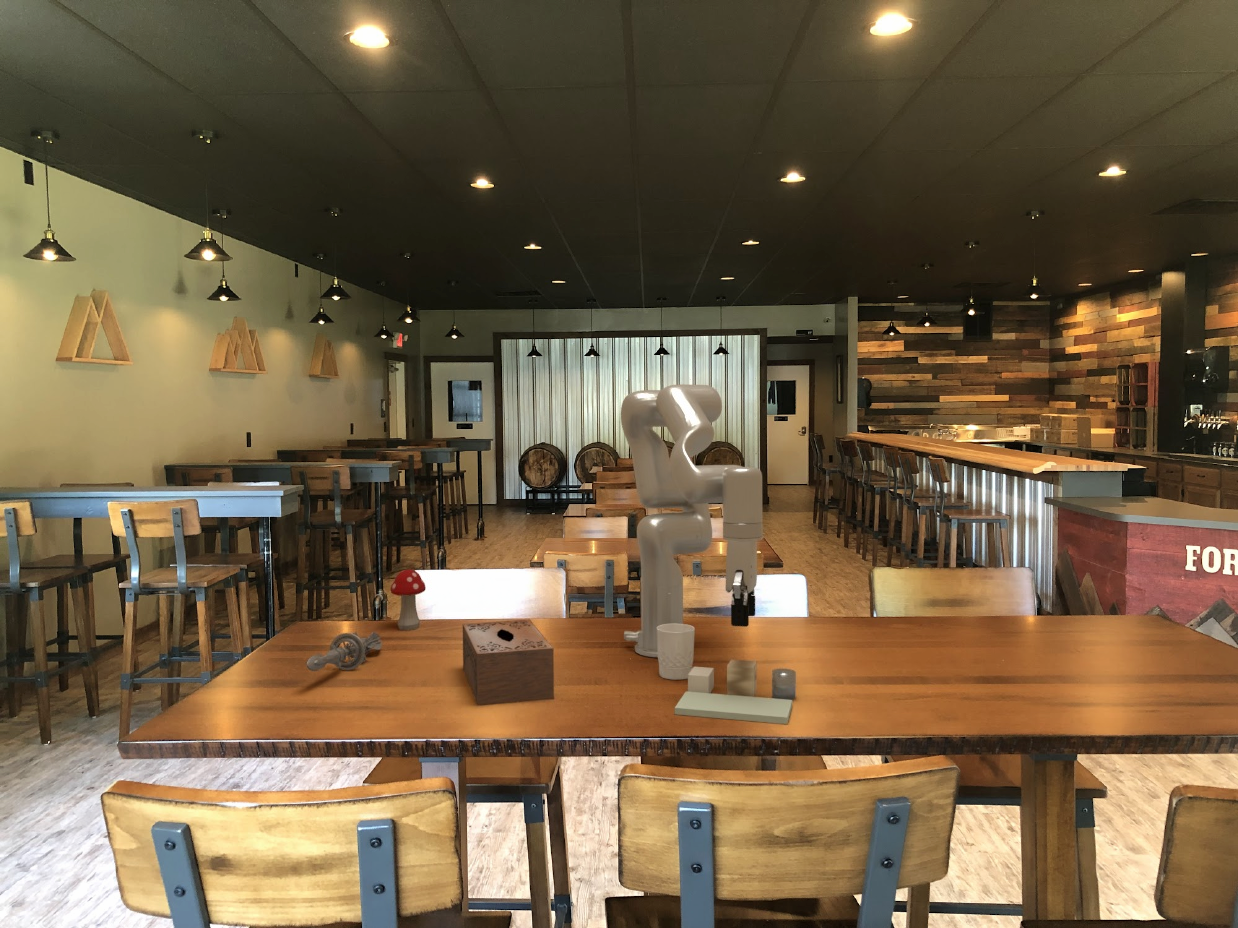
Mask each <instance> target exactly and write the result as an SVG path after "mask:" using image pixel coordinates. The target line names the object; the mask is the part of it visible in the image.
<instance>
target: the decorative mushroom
mask: <svg viewBox="0 0 1238 928" xmlns="http://www.w3.org/2000/svg"><path fill="white" fill-rule="evenodd" d="M425 591H426V584H425V581H424V580H423V579H422V576H421V575H420V574H419V572H417V571H416V570H414V569H410V568H409V569H404V570H402V571H400V572H399V573H398V574H397V575H396V577H395V579H394V581H393V583H392V584H391V585H390V593H391V595H395V596H397V597H398V596H399V597H400V614H399V618H398V621H397V627H398V629H399V631H412V630H417V629H419V626H420V623H421V621H420V619H419V615H418V610H417V603H416V601H417V599H416V596H417V595H420V594H422V593H424V592H425Z"/></svg>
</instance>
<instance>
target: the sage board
mask: <svg viewBox="0 0 1238 928" xmlns="http://www.w3.org/2000/svg"><path fill="white" fill-rule="evenodd" d="M792 708H793V701H792V700H786V699H774V698H772V697H770V698H769V697H761V696H759V697H758V696H754V697H749V696H736V695H727V694H723V693H712V692H711V693H699V692H688V690H687V691H685V692H684V694H683V695H682V696H681V697H680V699H679V700H678V703H677V704H676V705H675V706H674V715H676V716H677V715H678V716H687V717H688V716H690V717H700V718H701V717H702V718H712V719H713V718H714V719H723V720H732V721H733V720H735V721H745V722H749V721H750V722H758V723H769V724H778V725H779V724H780V725H788V724H789V719H790V716H791V712H792Z"/></svg>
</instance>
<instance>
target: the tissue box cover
mask: <svg viewBox="0 0 1238 928" xmlns="http://www.w3.org/2000/svg"><path fill="white" fill-rule="evenodd" d="M554 654H555V653H554V647H553V646H552V645H551V644H550V642H549V641H548V640H547V639H546V637H545V636H544V635H543V633H541V631H540V630H539V629H538V628H537V627H536V625H535V624H534V622H532V620H531V619H527V618H526V619H514V620H513V619H512V620H511V619H510V620H500V621H484V622H483V621H482V622H470V623H462V668H463V671H464V674H465V677H466V680H467V682H468V684H469V687H470V690H471V693H472V695H473V697H474V700H475V703H476V705H477V707H479V706H490V705H491V706H492V705H502V704H513V703H514V704H515V703H523V702H524V703H525V702H536V701H547V700H554V699H555V688H554V687H555V679H554V678H555V675H554V674H555V672H554V671H555V667H554V666H555V663H554V658H555V657H554V656H555V655H554Z"/></svg>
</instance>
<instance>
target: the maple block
mask: <svg viewBox="0 0 1238 928" xmlns="http://www.w3.org/2000/svg"><path fill="white" fill-rule="evenodd" d="M757 678H758V677H757V661H755V660H744V659H743V660H742V659H730V661H729V662H728V664H727V665H726V695H736V696H749V697H756V694H757V690H758V689H757V688H758V687H757V684H758V683H757Z"/></svg>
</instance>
